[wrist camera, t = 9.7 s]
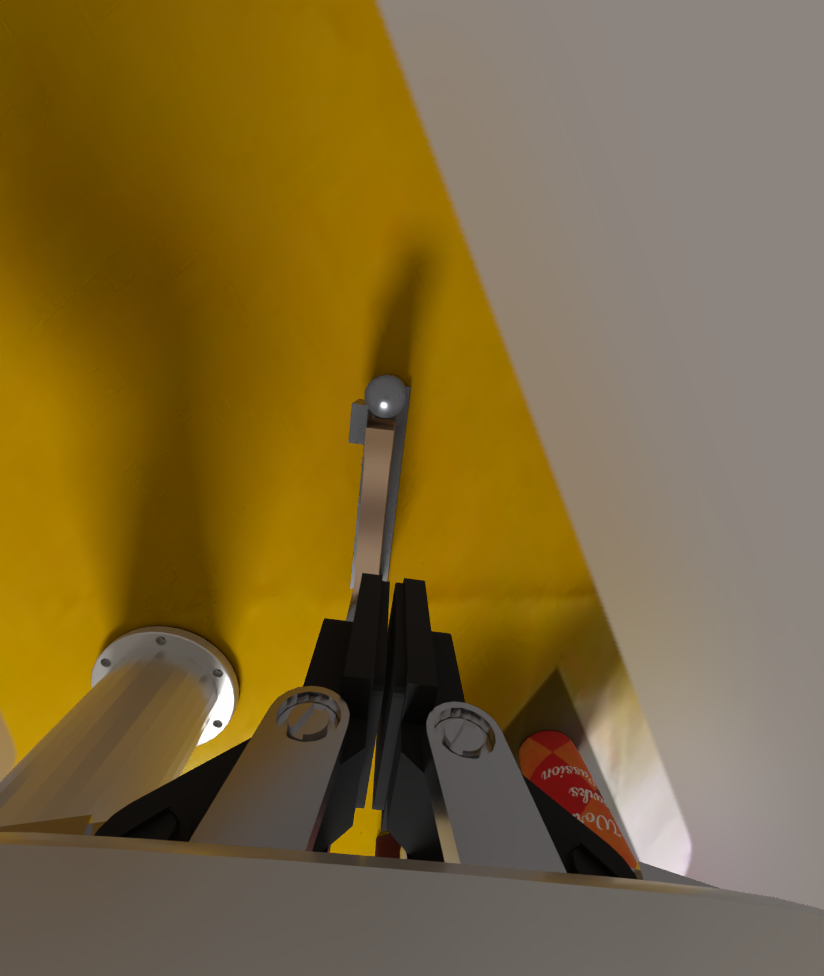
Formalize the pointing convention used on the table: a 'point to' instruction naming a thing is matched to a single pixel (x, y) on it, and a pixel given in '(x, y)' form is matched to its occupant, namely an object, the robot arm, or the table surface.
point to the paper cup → (570, 785)
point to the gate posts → (391, 402)
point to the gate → (373, 497)
